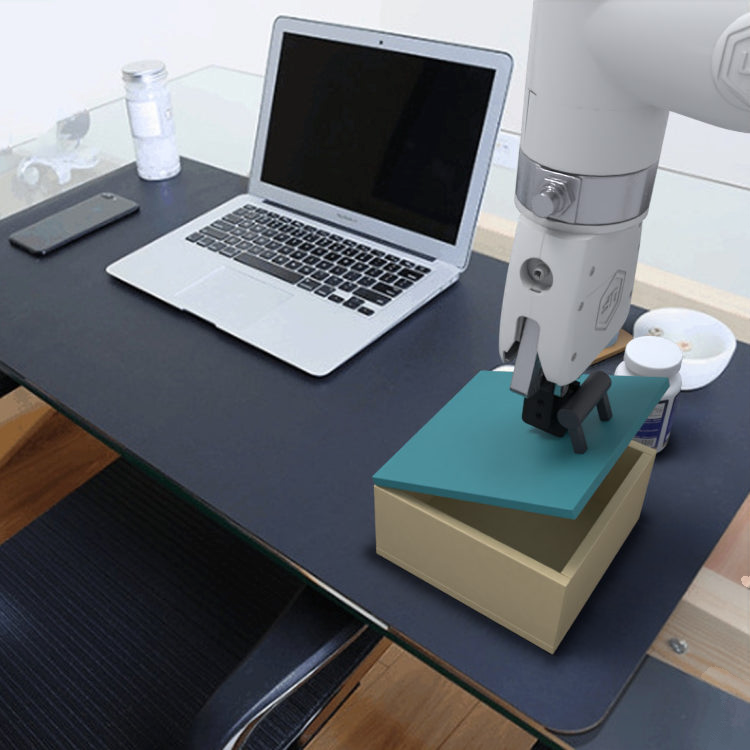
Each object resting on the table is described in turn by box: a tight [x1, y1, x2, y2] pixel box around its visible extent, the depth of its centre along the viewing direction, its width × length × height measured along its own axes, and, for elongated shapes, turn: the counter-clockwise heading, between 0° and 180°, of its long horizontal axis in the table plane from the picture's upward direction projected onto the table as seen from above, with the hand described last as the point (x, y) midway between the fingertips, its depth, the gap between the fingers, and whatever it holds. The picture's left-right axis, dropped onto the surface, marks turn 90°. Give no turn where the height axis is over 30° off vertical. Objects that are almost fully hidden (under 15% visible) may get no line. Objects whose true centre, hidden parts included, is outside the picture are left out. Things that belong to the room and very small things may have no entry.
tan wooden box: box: [373, 440, 657, 655], centre depth 62 cm, size 16×16×8 cm
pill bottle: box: [613, 335, 684, 454], centre depth 71 cm, size 6×6×10 cm
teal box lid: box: [371, 369, 670, 520], centre depth 57 cm, size 16×16×4 cm
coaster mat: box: [588, 328, 634, 367], centre depth 86 cm, size 7×7×1 cm
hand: (546, 423), depth 56 cm, fingers closed
